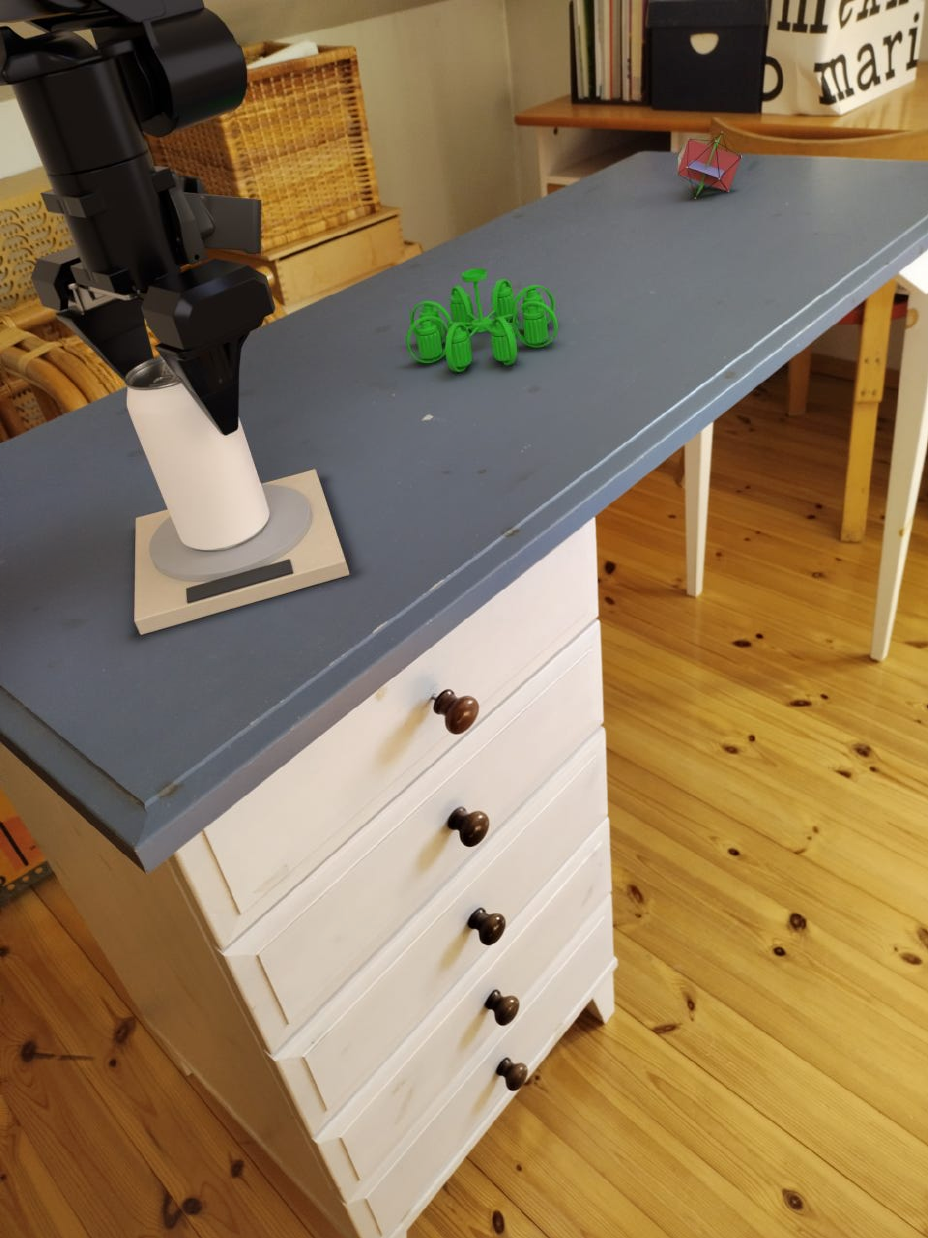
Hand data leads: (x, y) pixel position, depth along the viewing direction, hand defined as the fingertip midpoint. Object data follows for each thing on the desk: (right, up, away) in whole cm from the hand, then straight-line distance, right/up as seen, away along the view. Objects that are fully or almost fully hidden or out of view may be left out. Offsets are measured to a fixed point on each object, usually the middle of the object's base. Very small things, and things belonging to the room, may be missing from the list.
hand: (191, 417), depth 62 cm
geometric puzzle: (+48, +40, +56) cm, 84 cm away
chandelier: (+20, +13, +29) cm, 37 cm away
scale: (+2, -8, +6) cm, 10 cm away
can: (+1, -7, +5) cm, 9 cm away
